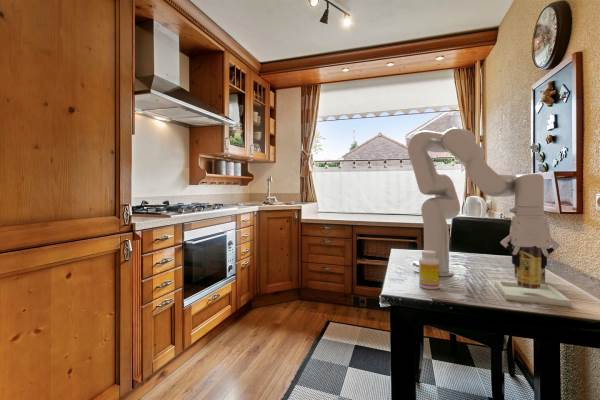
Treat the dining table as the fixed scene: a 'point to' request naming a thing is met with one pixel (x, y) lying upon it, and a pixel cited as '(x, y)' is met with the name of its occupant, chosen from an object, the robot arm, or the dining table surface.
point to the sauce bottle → (529, 267)
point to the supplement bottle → (429, 270)
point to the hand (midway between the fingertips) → (529, 266)
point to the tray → (532, 294)
